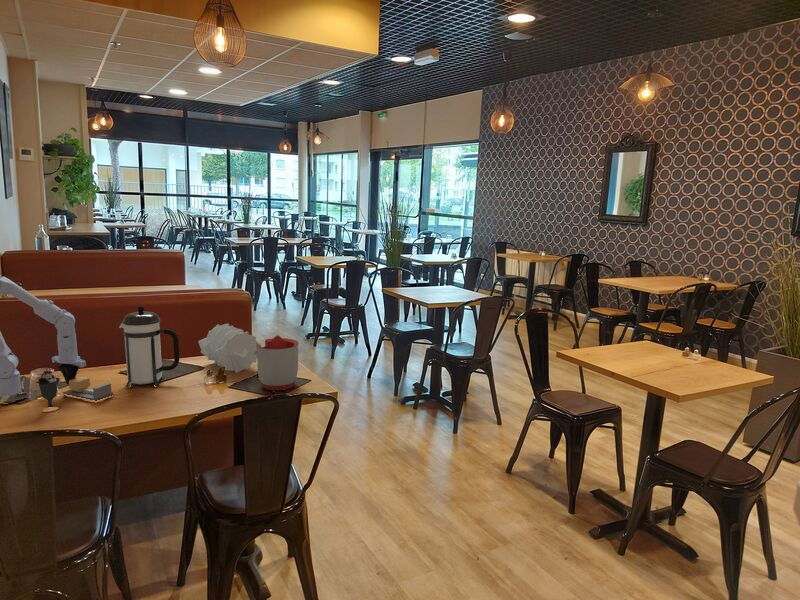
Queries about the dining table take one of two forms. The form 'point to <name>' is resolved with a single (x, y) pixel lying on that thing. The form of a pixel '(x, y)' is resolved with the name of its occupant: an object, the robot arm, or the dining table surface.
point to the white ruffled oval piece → (229, 347)
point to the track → (93, 392)
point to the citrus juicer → (277, 363)
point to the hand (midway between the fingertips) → (70, 383)
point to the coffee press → (145, 347)
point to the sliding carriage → (79, 383)
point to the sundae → (48, 386)
